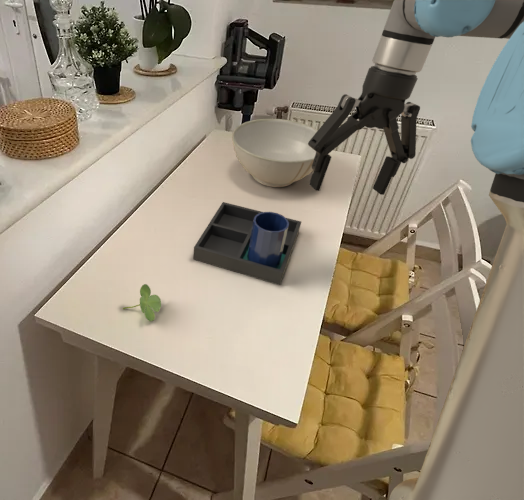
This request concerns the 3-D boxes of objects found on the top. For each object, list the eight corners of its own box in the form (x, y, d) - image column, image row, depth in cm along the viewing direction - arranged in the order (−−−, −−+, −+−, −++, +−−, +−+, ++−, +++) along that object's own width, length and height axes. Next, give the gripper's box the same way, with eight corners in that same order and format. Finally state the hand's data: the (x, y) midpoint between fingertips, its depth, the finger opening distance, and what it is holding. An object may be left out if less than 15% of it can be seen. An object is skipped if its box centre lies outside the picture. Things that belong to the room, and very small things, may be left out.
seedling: (139, 325, 89) (165, 318, 86) (115, 328, 82) (143, 321, 79) (132, 291, 90) (158, 283, 87) (108, 292, 83) (135, 283, 80)
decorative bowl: (327, 204, 116) (338, 164, 108) (227, 197, 117) (232, 157, 110) (312, 157, 136) (321, 121, 128) (228, 152, 138) (232, 115, 130)
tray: (280, 285, 92) (283, 273, 89) (193, 259, 98) (193, 247, 95) (298, 233, 106) (301, 221, 103) (221, 213, 112) (222, 201, 109)
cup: (286, 266, 95) (296, 226, 88) (259, 276, 92) (267, 235, 85) (266, 247, 100) (274, 208, 93) (240, 256, 97) (247, 216, 90)
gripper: (442, 73, 75) (391, 184, 86) (314, 55, 69) (277, 177, 80) (475, 83, 69) (415, 201, 80) (337, 64, 63) (294, 195, 74)
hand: (346, 189), depth 80 cm, fingers open, 13 cm apart
